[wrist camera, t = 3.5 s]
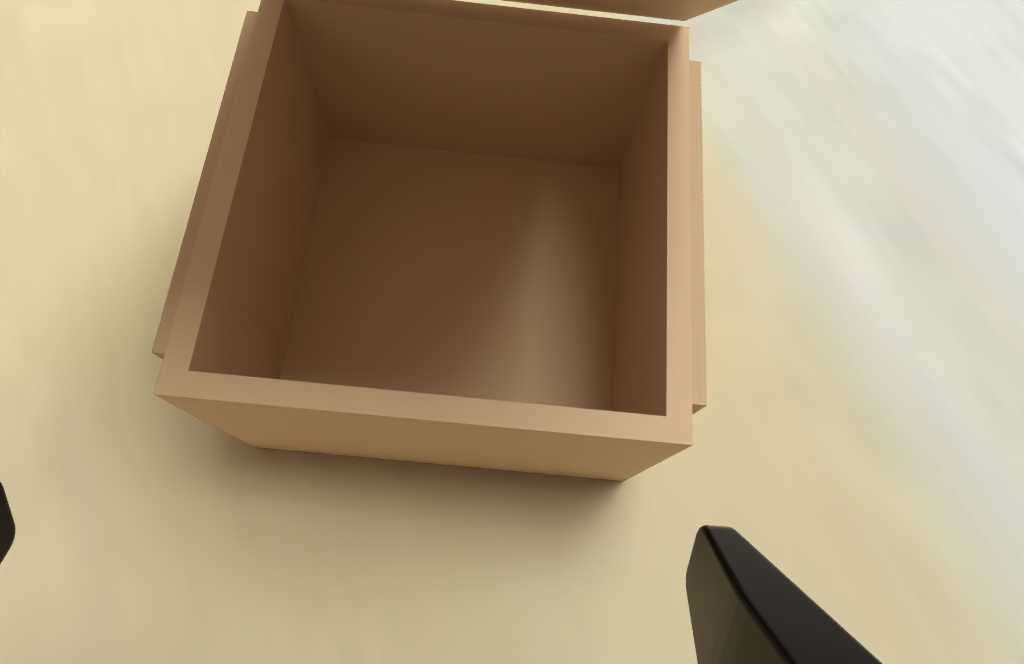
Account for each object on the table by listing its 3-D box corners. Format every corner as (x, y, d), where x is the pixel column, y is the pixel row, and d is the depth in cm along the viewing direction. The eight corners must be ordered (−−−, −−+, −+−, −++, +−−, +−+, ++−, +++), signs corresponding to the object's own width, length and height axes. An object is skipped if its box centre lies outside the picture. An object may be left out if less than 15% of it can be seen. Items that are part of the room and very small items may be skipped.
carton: (635, 482, 21) (710, 446, 15) (240, 445, 21) (135, 392, 14) (642, 166, 25) (702, 28, 19) (309, 131, 25) (252, -23, 18)
